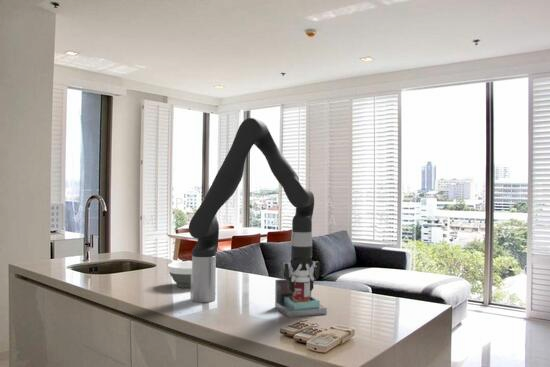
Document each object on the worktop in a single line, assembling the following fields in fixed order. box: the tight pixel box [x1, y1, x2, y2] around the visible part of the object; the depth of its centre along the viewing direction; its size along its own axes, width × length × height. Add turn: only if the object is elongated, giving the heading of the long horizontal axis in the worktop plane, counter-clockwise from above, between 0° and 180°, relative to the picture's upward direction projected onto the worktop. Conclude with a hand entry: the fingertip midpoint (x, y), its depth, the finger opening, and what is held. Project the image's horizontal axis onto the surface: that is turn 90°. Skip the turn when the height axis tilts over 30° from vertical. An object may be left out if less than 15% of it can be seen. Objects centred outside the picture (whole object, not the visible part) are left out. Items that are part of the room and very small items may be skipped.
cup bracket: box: [274, 278, 328, 318], centre depth 157 cm, size 14×14×10 cm
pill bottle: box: [293, 270, 310, 302], centre depth 156 cm, size 6×6×11 cm
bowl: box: [167, 260, 192, 289], centre depth 197 cm, size 20×20×10 cm
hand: (301, 291), depth 156 cm, fingers closed on pill bottle, 6 cm apart
